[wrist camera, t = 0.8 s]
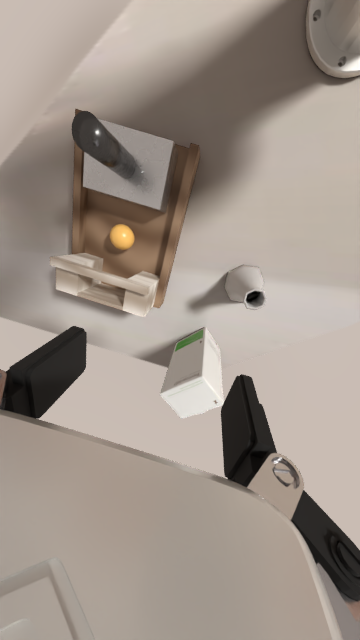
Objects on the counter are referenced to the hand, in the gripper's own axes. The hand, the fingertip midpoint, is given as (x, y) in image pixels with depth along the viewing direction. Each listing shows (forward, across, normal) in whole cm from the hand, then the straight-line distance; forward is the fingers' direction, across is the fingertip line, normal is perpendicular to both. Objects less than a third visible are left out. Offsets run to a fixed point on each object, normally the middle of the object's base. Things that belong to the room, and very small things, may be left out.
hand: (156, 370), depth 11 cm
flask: (+28, -9, -1) cm, 30 cm away
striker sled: (+26, +13, -14) cm, 33 cm away
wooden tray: (+28, +14, -6) cm, 32 cm away
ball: (+24, +14, -4) cm, 28 cm away
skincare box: (+28, -5, +15) cm, 32 cm away
